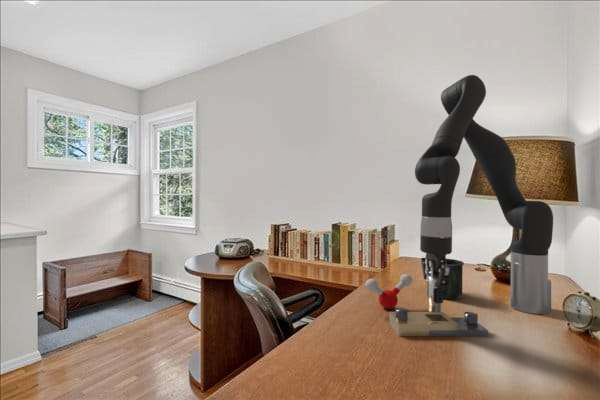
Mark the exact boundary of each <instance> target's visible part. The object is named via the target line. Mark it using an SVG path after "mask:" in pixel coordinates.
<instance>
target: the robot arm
mask: <svg viewBox="0 0 600 400" xmlns="http://www.w3.org/2000/svg"><path fill="white" fill-rule="evenodd" d="M486 95H487V90H486V85H485V82H483V80H482V79H481V78H480V77H479V76H478V75H475V74H468V75H466V76H464V77H462V78H461V79H459V80H458V81H456V82H454V83H452V84H451V85H450V86H448V87H446V88H445V89H444V90H442V91H441V94H440V101H441V104H442V106H443V108H444V110H445V112H446V113H447V115H448V116H447V117H446V119H444V121H443V122H442V123H441V124H440V126H439V128H438V129H437V131H436V133H435V136H434V138H433V140H432V143H431V145H430V146H429V147H428V148H427V149H426V151H424V153H423V154H422V155H421V157H419V159H418V161H417V163H416V164H415V168H414V176H415V179H416V180H417V182H418V183H419V184H421V185H425V186H426V185H440V186H439V189H438V190H437V191H435V192H432V193H427V194H425V195H423V196H422V199H421V218H420V219H421V221H420V240H419V241H420V243H419V244H420V246H419V247H420V249H419V250H420V251H421V252H422V253H424V254H425V257H421V258H420V260H421V268H422V274H423V275H422V276H423V279H424V280H426V284H427V297H428V294H429V275H428V271H431V278H432V279H433V287H434V288H433V302H434V303H441V304H443V303H444V299H443V289H445V288H448V287H449V283H450V279H451V275H452V268H451V267H447V261H446V259H447V257H446V256H447V255H451V254H452V253H453V222H452V203H453V197H454V192H455V190H456V186H457V182H458V180H459V176H460V174H461V166H460V163H459V161H458V160H457V158H456V157H457V156H458V154H459V152H460V150H461V149H460V148H461V145H462V143H463V140H465V142H466V144H467V145H468V147H469V150H470V151H471V153H472V155H473V156H474V160H475V161H476V162H477V164H478V166H479V168H480V170H481V171H482V173H483V175H484V176H485V178H486V180H487V182H488V184H489V186H490V188H491V189H492V191H493V193H494V195H495V198H497V199H496V200H497V201H498V204H499V207H500V209H501V211H502V212H501V213H502V214H503V216H504V219H505V221H506V222H507V224H509V225H510V227H512V228H514V229H517V230H521V232H520V233H521V234H520V238H519V239H518V240H515V241H513V242H511V245H510V296H509V297H510V302H509V304H510V307H511V308H512V309H514V310H516V311H521V312H523V313H528V314H535V315H536V314H537V315H543V314H547V313H552V280H551V279H549V249H550V248H551V246H552V242H553V232H554V231H553V229H554V213H553V210H552V208H551V207H550V206H549V204H547V203H546V202H544V201H541V200H526V199H525V197H524V196H523V194H522V192H521V191H520V189H519V186H518V185H517V178H516V176H517V174H516V173H517V161H516V158H515V155H514V154H513V152H512V149H511V148H510V147H509V145H508V142H507V141H506V140H505V139H504V138H503V137H502V136H500V135H499V134H497V133H495V132H493V131H491V130H489V129H487V128H486V127H484V126H482V125H480V124H478V123H477V122H476V121H475V120H474V117H475V116H476V114H477V112H478V110H479V109H480V107H481V106H482V105H483V103H484V101H485V98H486ZM435 274H439V276H435ZM437 279H438V280H437Z"/></svg>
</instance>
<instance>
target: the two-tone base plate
mask: <svg viewBox="0 0 600 400" xmlns="http://www.w3.org/2000/svg"><path fill="white" fill-rule="evenodd" d="M388 317H389V318H388V320H389V321H388V323H389V324H390V326H391V328H393V330H394V332H395V333H396V334H397V336H398V337H400V336H401V337H488V336H489V330H488V329H487V328H486V327H485V326H483V325H481V324H480V323H479V322H478V321H479V320H478V318H479V316H478V314H477V313H476V312H472V311H465V312H464V317H449V315H447V314H446V313H445V312H444V311H441V312H439V313H436V312H431V311H408V309H407V308H404V307H396V308H395V311H389V313H388Z"/></svg>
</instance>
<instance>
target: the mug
mask: <svg viewBox="0 0 600 400" xmlns="http://www.w3.org/2000/svg"><path fill="white" fill-rule="evenodd" d="M446 261H447V267H451V268H452V275H451V279H450V283H449V287H448V288H445V289H443V300H451V301H453V300H459V299H461V298H462V297H463V266H464V264H465V263H464V261H461V260H458V259H453V258H452V259H451V258H446Z"/></svg>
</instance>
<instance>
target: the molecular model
mask: <svg viewBox="0 0 600 400" xmlns="http://www.w3.org/2000/svg"><path fill="white" fill-rule="evenodd" d="M412 283H413V278H412V277H411V275H410V274H407V273H404V274H402V275H401V276H400V277H399V282H398V284H396V286H395V287H394V288H393V289H392V290H390V289H384V290H383V289H381V288H380V286H379V282H378V281H377V280H376V279H375V278H369V279H367V280H366V281H365V288H366V290H367V291H369V292H372V293H373V292H374V293H375V294H377V295H378V303H379V305H381V306H382V308H383V309H387V310H391V309H394V308H395V307H396V306H397V305H398V301H399V299H398V296H397V295H398V294H399V293H400V292H401V290H403V289H404V287H405V286H406V287H408V286H411V285H412Z"/></svg>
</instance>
